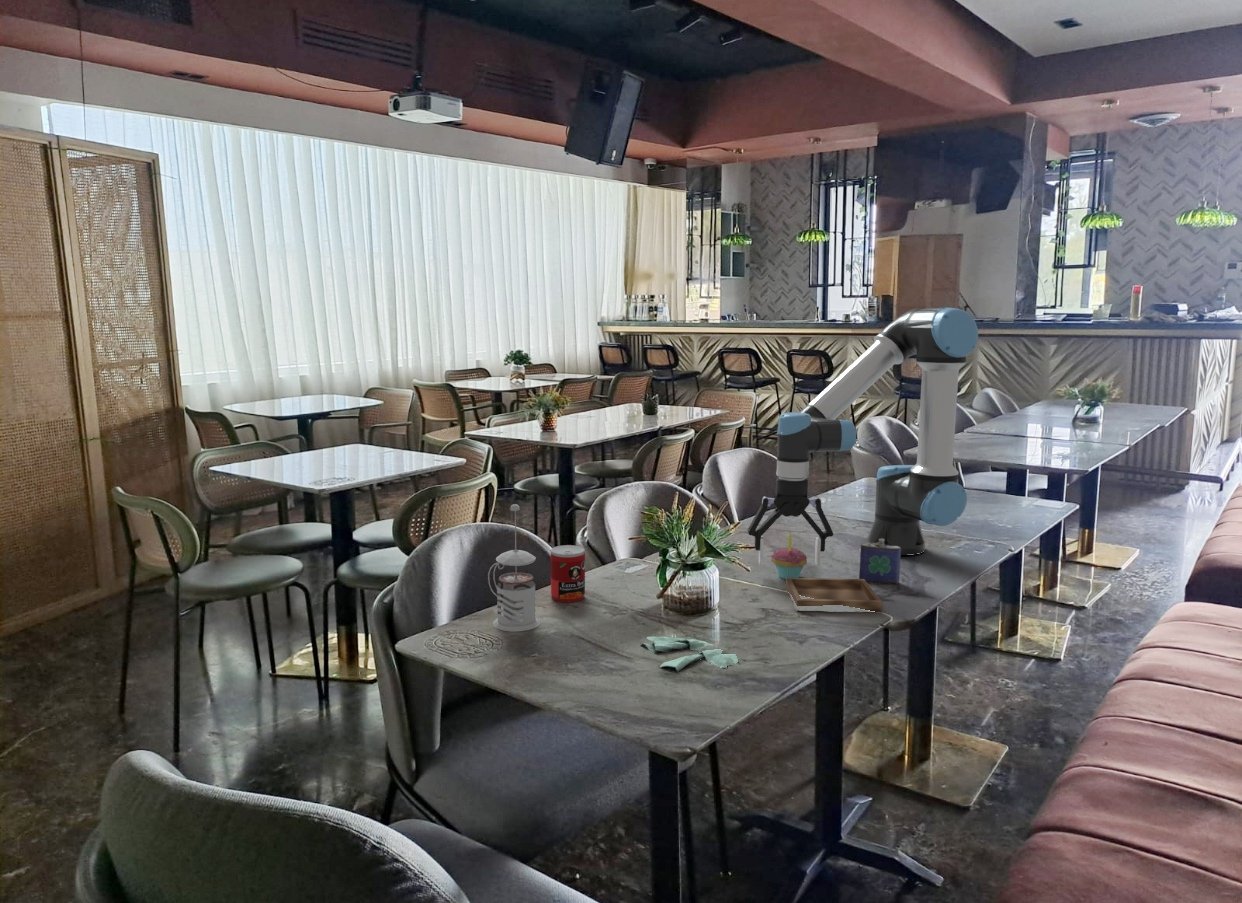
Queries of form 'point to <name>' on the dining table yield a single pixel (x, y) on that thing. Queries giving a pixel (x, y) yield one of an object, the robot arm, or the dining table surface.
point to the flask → (880, 563)
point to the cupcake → (789, 561)
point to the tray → (834, 593)
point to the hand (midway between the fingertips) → (788, 563)
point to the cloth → (679, 643)
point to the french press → (515, 591)
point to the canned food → (567, 573)
